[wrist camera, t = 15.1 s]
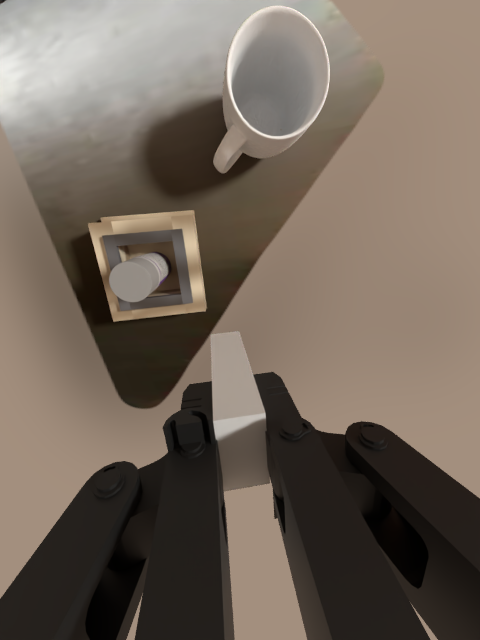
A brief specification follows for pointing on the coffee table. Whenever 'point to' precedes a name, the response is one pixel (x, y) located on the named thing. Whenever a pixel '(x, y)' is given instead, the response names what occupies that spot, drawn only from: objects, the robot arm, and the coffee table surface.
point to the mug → (271, 84)
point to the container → (139, 276)
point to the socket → (145, 237)
